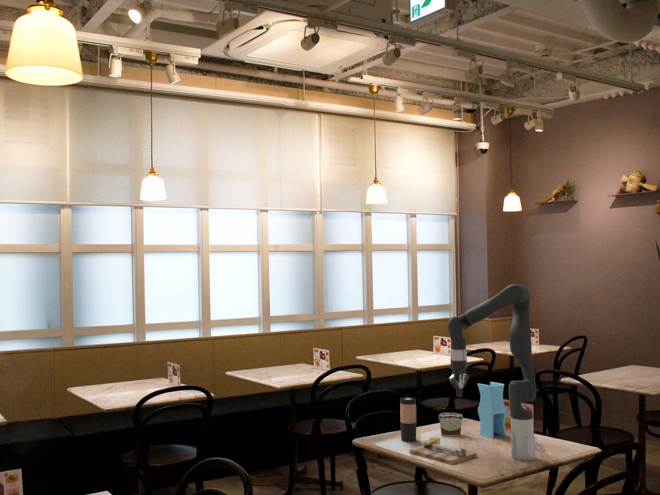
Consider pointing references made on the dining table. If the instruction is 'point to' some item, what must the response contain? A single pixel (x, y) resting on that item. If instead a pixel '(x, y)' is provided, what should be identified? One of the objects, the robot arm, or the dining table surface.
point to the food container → (450, 424)
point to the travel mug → (408, 418)
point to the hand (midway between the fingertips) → (459, 396)
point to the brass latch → (432, 440)
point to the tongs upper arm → (443, 447)
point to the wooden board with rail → (443, 454)
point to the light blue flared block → (492, 409)
